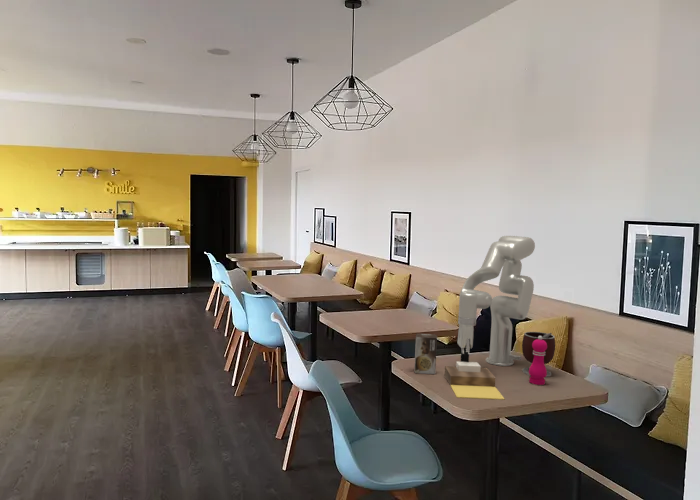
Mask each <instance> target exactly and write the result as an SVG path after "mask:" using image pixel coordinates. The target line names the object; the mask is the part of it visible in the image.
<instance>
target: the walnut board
mask: <svg viewBox="0 0 700 500" xmlns="http://www.w3.org/2000/svg"><path fill="white" fill-rule="evenodd" d="M444 377H445V379H446V380H447V382H448V384H449V386H450V385H468V386H491V387H496V376H494V374H493V373H492V372H491V371H490V370H489V368H487V367H481V370H480V372H462V371H458V369H457V368H456V365H455V366H452V365H445V366H444Z"/></svg>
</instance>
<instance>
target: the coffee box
mask: <svg viewBox="0 0 700 500" xmlns="http://www.w3.org/2000/svg"><path fill="white" fill-rule="evenodd" d="M437 342H438V337H437V334H434V333H433V334H431V333H415V345H414V346H415V350H414V351H415V352H414V367H413V368H414V369H413V370H414V374H425V375H426V374H427V375H428V374H429V375H436V372H437V344H438V343H437Z"/></svg>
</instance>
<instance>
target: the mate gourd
mask: <svg viewBox="0 0 700 500" xmlns="http://www.w3.org/2000/svg"><path fill="white" fill-rule="evenodd" d="M538 336H542V340H544V341H545V342H546V343H547V349H546V350H545V352H546V353H545V355H544V365H547V364H549V363H550V362H551V361H552V360H553V359H554V357H555V354H556V353H555V352H556V337H555V335H553V334H552V332H548V333H547V332H540V331H526V332H524V334H523V337H522V342H521V343H522V344H521V350H522V355H523V357H524V359H525V360H526V361H527V362H529V363H531V364H532V363H533V360H534V354H533V350H534V349H533V347H532V343H533V341H534V340H536V339H538ZM529 368H530V366H529V367H523V368H522V369H521V370H522V373H524V374H526V375H528V376H530V374H529ZM546 370H547V375H546V377H545V378H548V377H551V376H552V372H551V371H550V370H548V369H546Z"/></svg>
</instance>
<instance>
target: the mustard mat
mask: <svg viewBox="0 0 700 500" xmlns="http://www.w3.org/2000/svg"><path fill="white" fill-rule="evenodd" d="M449 387H450V389H452V392H453V393H454V395H455V397H456V398H457V399H458V398H459V399H475V400H476V399H479V400H480V399H481V400H501V401H502V400H506V399H505V397H504V395H502V393H501V392H500V391H499V389H498V388H497V387H496V386H495V387H491V386H468V385H450V384H449Z"/></svg>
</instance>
